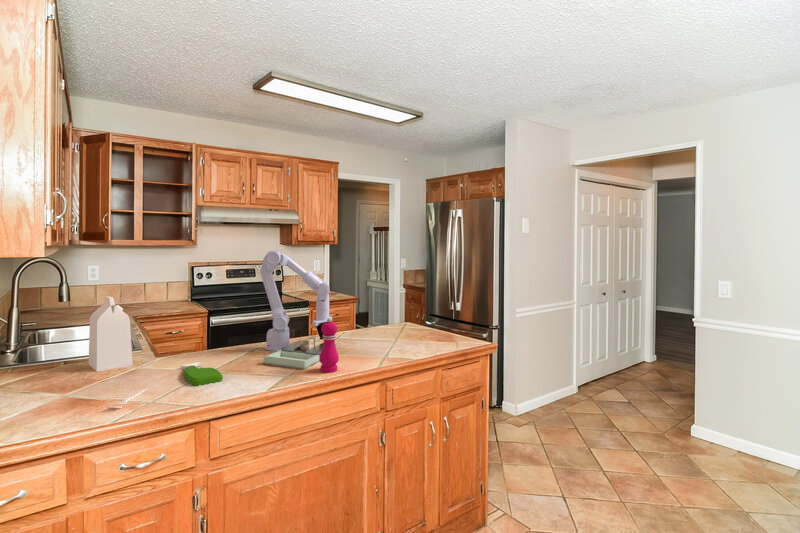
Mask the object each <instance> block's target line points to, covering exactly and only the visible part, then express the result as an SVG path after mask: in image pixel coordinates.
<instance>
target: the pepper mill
mask: <svg viewBox="0 0 800 533" xmlns="http://www.w3.org/2000/svg"><path fill="white" fill-rule="evenodd" d="M327 321H328V322H326V323H324V324H323V325H322V328H321V331H322V333H323V334H324V335H323V339H324V340H323V343H324V345H323V349H322V351H321V354H320V358H319V363H320V364H321V365H320V371H321V372H322V373H327V374H328V373H329V374H330V373H336V372H337V371H338V362H339V361H340V360H339V359H340V357H339V353H338V351H337V347H336V348H335V344H336V339H337V335H336V333H338V325H337V324H336V322H333V318H332V319H331V318H328V319H327Z"/></svg>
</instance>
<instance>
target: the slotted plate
mask: <svg viewBox="0 0 800 533" xmlns="http://www.w3.org/2000/svg"><path fill="white" fill-rule="evenodd" d="M301 340H302V339H299V340H296V341H294V342H291V343H289V344H288V345H286V346H283V347H281V351H288V352H296V353H304V354H313V355H319V358H320V354H321V351H322V349H323V345H324V342H321V343H320V344H319V345H317V346H315V347H312V348H310V349H308V350H302V349H301ZM336 346H337V343H335V348H336V349H337V347H336Z"/></svg>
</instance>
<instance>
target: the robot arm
mask: <svg viewBox="0 0 800 533" xmlns="http://www.w3.org/2000/svg"><path fill="white" fill-rule="evenodd" d="M261 263H262V264H261V267H260V270H259V273H260V276H261V280H262V284H263V286H264V289H265V293H266V296H267V299H268V302H269V306H270V309H271V317H272V328H270V329H268V331H267V332H266V343H265V344H266V348H265V350H266V351H273V352H277V351H280V350H281V347H283V346H286V345H288V344H290V327H289V326H288V324H289V322H290V316H289V315H288V314H287V313H286V311H285V308H284V307H283V304H282V300H281V297H280V294H279V291H278V288H277V283H276V281H275V277H274V275H273V272H274V271H275V269H276V267H277V266H279V265H280V266H283V267H288V268H289V269H290V270H292V272H294V273H296V275H299V276H300V277H301V281H302V282H303V283H304V285H307V287H309V288H310V289H312V290H314V291H315V292H316V300H315V301H316V304H315V306H316V309H315V311H316V312H315V313H316V314H315V315H316V317H315V319H314V320H313V321H312V327H315V329H316V330H317V333H318V336H320V341H321V340H322V341H324V339H323V335H324V334H323V333H322V331H321V328H322V325H323V324H324V323H326V322H328V321H327V319H328V318H331V319H332V320H333V316H330V294H329V293H330V292H331V290H330V285H329V284H328V283H327V281H325V280H324V279H321V278H320V277H319V276H318V275H316V272H315V271H311V270H308V271H306V270H305V269H304V268H303V267H301V266H300V265H299V264H298V262H296V261H294V259H292V258H291V257H290V256H288V255H287V254H285V253H282V251H280V250H278V249H273V250H270V251H267V253H266V255H265V256H264V257H263V261H262V262H261Z"/></svg>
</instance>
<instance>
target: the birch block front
mask: <svg viewBox="0 0 800 533" xmlns="http://www.w3.org/2000/svg"><path fill="white" fill-rule="evenodd" d="M300 340H301V349H302V350H308V349H310V348H312V347H314V339H311V338H307V337H305V338H303V339H300Z"/></svg>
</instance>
